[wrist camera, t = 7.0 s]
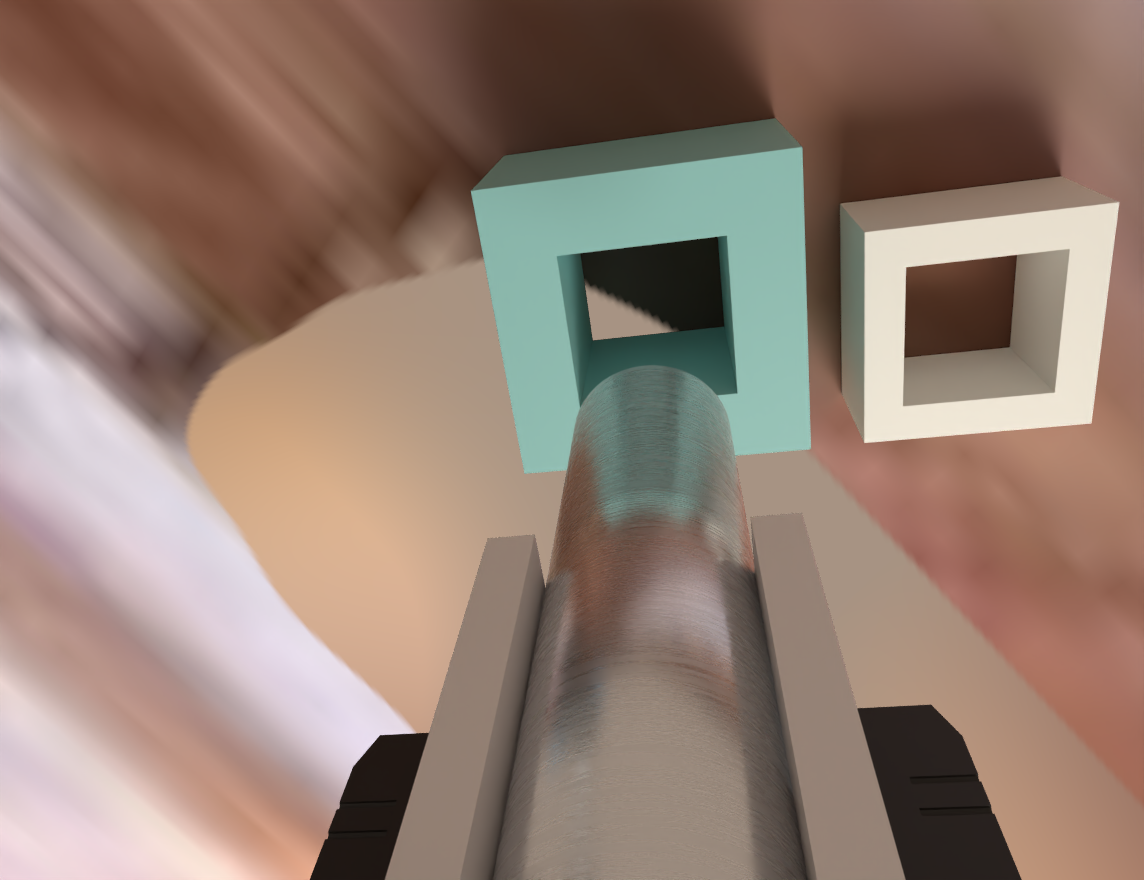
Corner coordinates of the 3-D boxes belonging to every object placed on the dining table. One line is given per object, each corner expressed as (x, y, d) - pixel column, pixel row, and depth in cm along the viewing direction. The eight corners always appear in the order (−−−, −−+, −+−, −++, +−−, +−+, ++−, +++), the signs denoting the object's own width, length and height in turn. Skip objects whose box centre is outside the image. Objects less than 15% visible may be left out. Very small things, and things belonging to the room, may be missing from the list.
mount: (841, 394, 33) (864, 442, 29) (840, 203, 30) (864, 232, 26) (1042, 375, 32) (1091, 423, 28) (1061, 176, 29) (1119, 201, 25)
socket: (545, 397, 34) (524, 473, 28) (504, 155, 30) (470, 190, 25) (785, 374, 33) (810, 449, 27) (775, 118, 29) (802, 146, 23)
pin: (571, 526, 20) (417, 1524, 7) (541, 358, 19) (261, 1278, 5) (754, 511, 20) (959, 1564, 7) (743, 336, 18) (994, 1305, 5)
